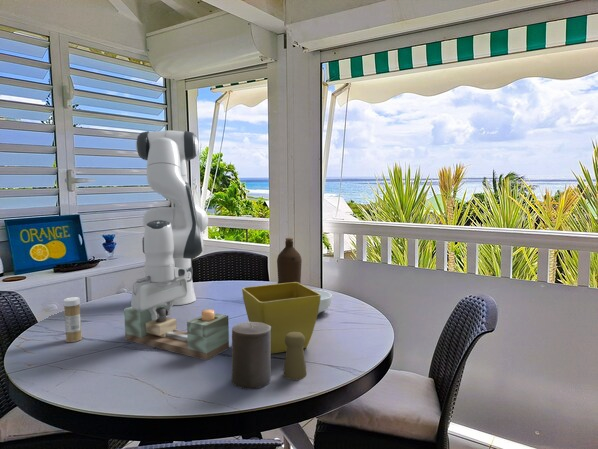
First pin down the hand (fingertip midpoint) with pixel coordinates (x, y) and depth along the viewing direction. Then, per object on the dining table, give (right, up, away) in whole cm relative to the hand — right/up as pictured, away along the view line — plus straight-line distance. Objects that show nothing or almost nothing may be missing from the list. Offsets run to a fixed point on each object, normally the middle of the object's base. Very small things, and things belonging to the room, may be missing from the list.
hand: (161, 317), depth 137 cm
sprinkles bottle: (-28, -8, +1) cm, 29 cm away
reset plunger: (+16, 0, -9) cm, 19 cm away
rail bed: (+5, -8, -2) cm, 10 cm away
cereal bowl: (+47, -5, +30) cm, 56 cm away
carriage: (0, -5, +1) cm, 5 cm away
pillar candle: (+31, -11, -26) cm, 42 cm away
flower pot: (+37, -8, -2) cm, 38 cm away
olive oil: (+39, -2, +55) cm, 67 cm away
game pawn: (+42, -10, -23) cm, 49 cm away
